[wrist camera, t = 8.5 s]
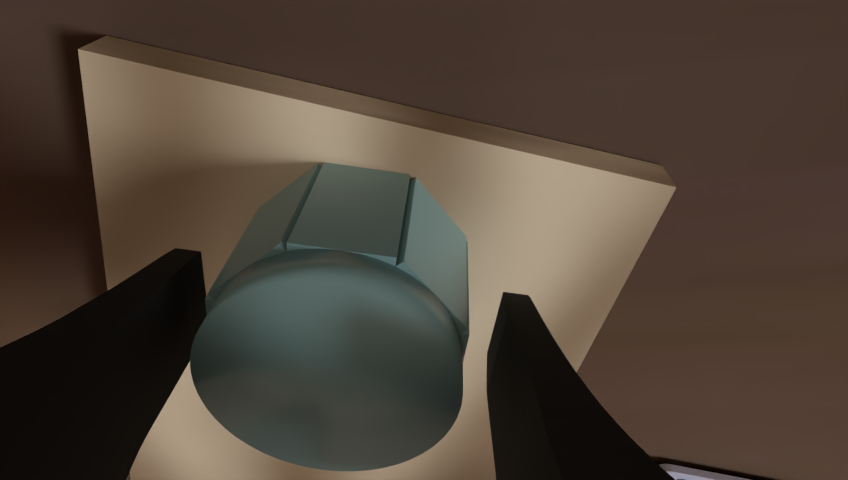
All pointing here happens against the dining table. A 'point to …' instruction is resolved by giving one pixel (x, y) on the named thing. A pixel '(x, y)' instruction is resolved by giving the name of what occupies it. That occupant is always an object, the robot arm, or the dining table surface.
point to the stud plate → (360, 147)
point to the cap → (339, 323)
